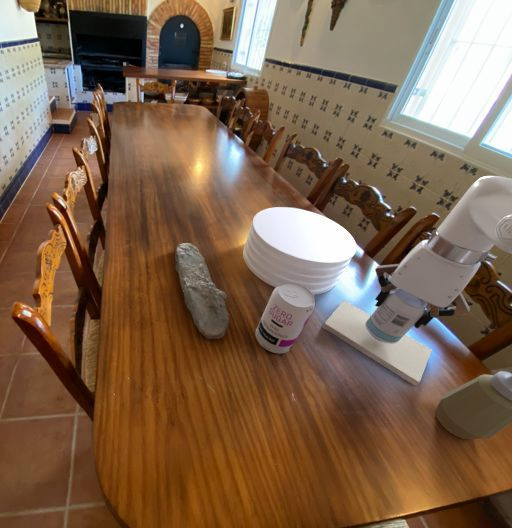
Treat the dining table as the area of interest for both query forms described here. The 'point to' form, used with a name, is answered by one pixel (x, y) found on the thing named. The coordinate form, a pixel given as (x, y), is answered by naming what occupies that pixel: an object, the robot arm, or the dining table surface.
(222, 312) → the long grey stone
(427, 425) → the dining table surface
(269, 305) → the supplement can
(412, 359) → the serving board
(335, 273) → the plate stack
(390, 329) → the beverage can
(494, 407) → the squeeze bottle
